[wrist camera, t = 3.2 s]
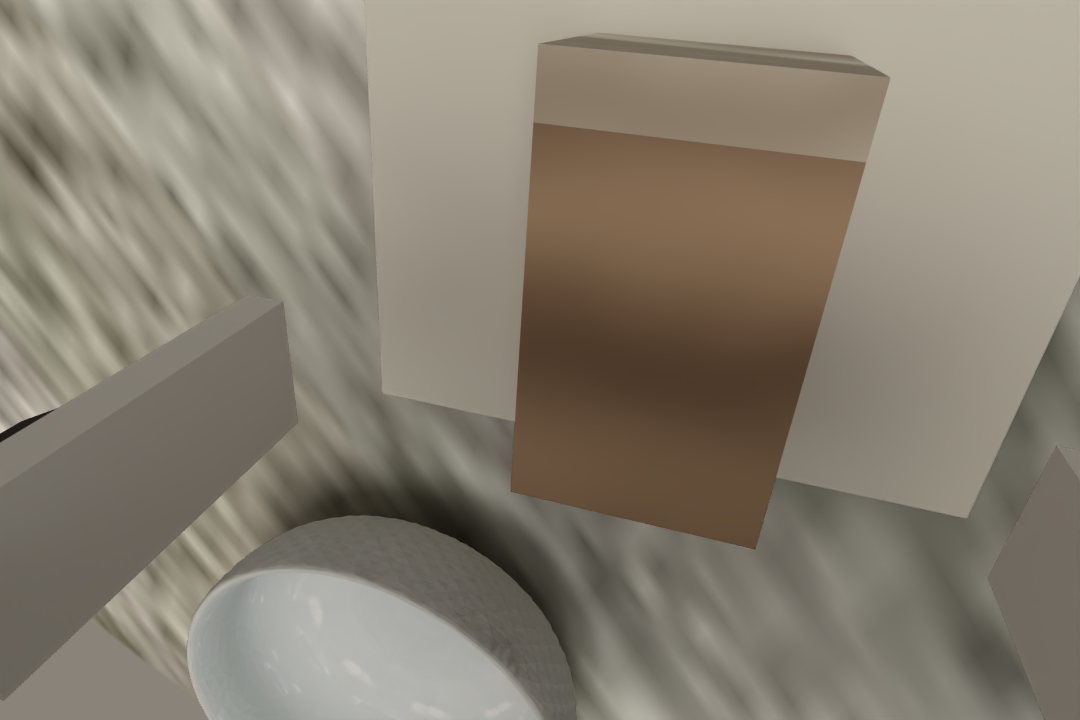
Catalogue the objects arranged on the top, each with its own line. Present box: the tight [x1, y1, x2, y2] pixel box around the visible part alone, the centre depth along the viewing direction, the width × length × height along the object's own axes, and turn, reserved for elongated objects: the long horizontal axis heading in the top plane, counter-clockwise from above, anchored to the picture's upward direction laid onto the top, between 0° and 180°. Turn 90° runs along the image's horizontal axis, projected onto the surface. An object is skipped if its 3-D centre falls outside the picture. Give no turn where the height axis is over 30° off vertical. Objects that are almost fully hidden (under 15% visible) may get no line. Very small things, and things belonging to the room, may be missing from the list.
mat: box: [364, 0, 1080, 518], centre depth 19 cm, size 30×22×1 cm
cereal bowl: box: [187, 515, 577, 720], centre depth 31 cm, size 17×17×7 cm
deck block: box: [511, 33, 891, 549], centre depth 20 cm, size 12×7×6 cm, turn 176°
